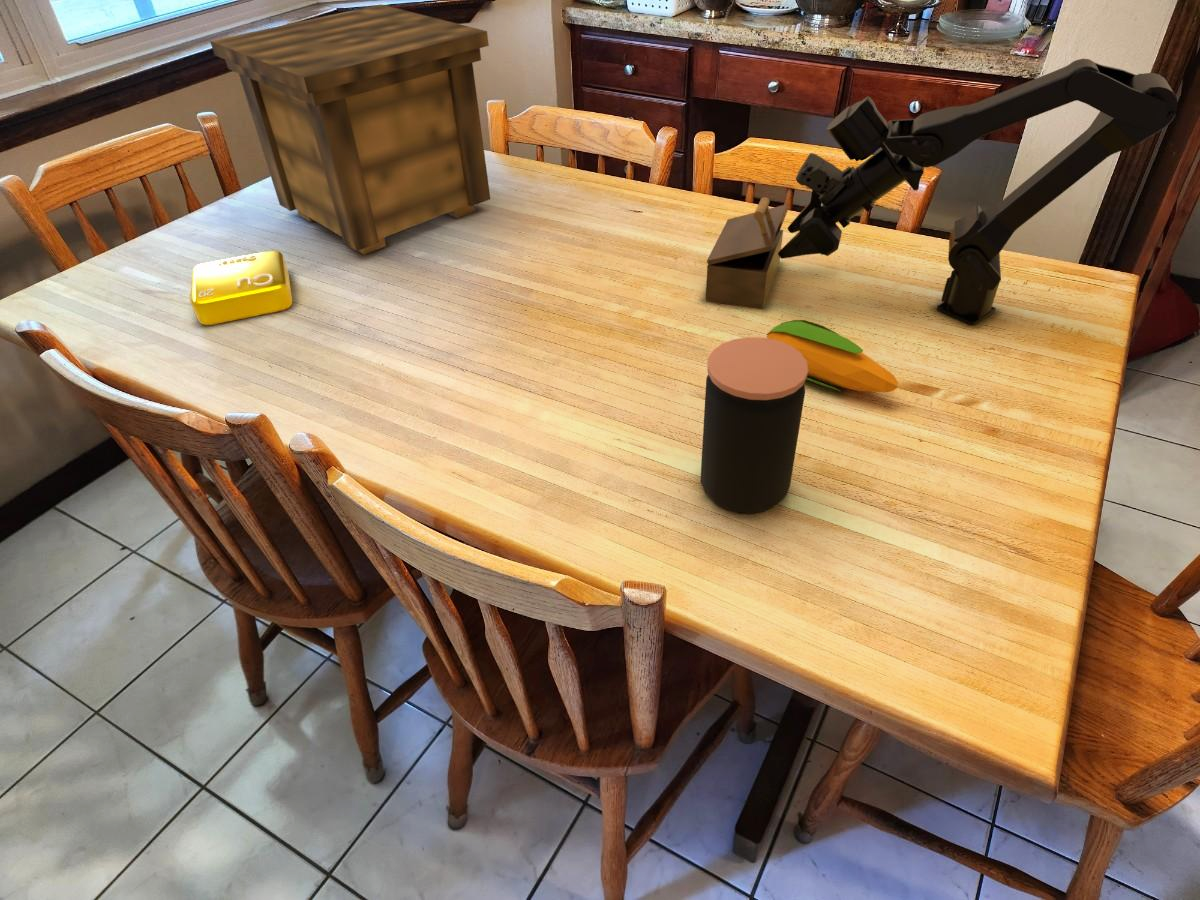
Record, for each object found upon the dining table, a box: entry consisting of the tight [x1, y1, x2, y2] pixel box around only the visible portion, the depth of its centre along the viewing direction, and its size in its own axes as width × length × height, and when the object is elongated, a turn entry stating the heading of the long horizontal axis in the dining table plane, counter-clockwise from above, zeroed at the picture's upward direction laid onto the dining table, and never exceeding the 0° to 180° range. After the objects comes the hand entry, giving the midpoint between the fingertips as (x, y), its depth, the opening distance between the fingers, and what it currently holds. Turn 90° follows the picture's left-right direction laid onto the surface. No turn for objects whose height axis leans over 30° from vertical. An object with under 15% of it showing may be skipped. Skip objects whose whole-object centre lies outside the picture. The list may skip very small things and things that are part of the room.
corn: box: [766, 319, 899, 393], centre depth 110 cm, size 7×8×20 cm
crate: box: [209, 4, 491, 256], centre depth 150 cm, size 35×35×33 cm
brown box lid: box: [706, 196, 789, 266], centre depth 127 cm, size 10×16×5 cm
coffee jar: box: [699, 336, 808, 515], centre depth 90 cm, size 11×11×18 cm
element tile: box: [189, 250, 293, 326], centre depth 135 cm, size 15×15×5 cm
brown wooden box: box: [705, 229, 784, 310], centre depth 132 cm, size 9×16×6 cm, turn 161°
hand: (784, 242), depth 127 cm, fingers open, 9 cm apart
